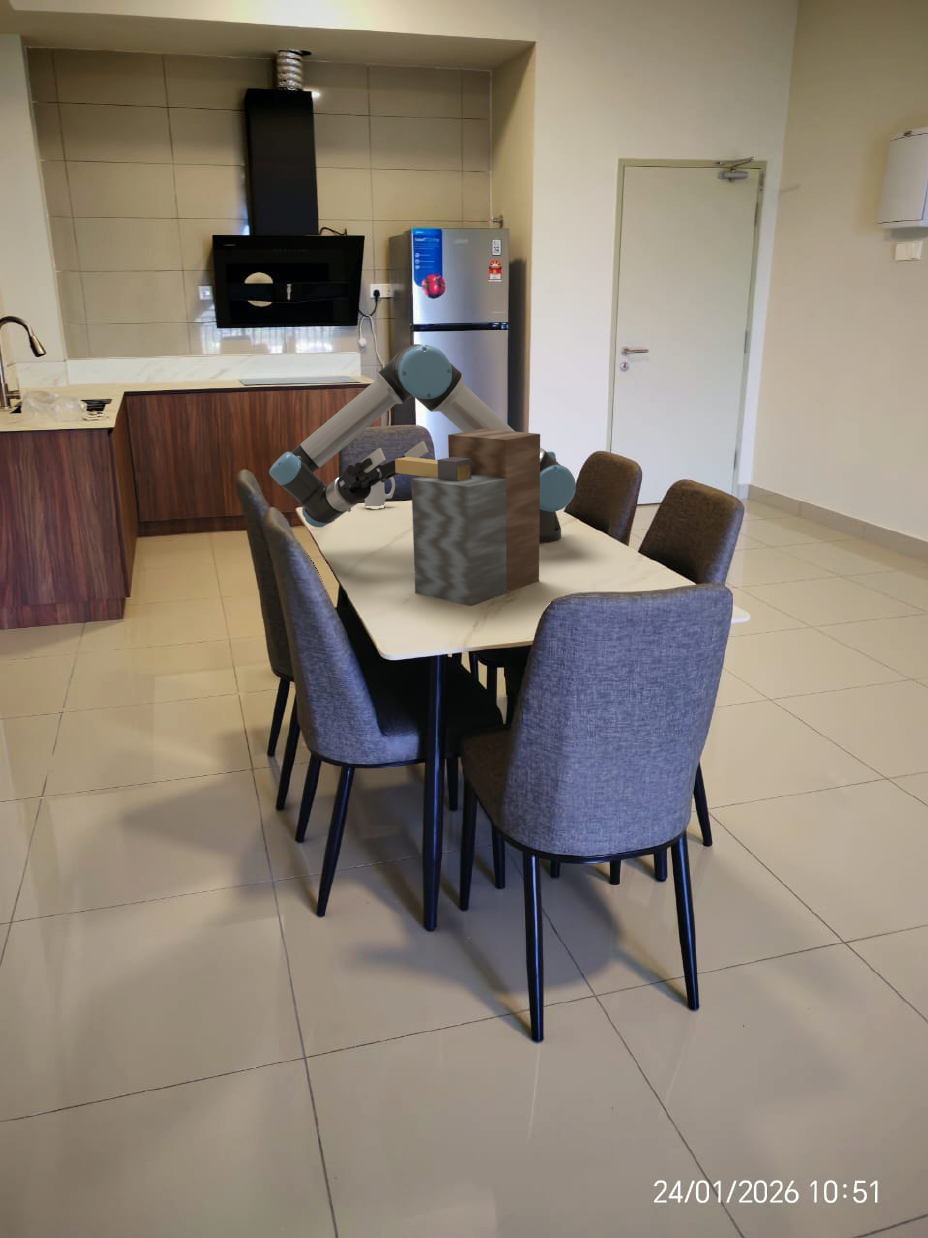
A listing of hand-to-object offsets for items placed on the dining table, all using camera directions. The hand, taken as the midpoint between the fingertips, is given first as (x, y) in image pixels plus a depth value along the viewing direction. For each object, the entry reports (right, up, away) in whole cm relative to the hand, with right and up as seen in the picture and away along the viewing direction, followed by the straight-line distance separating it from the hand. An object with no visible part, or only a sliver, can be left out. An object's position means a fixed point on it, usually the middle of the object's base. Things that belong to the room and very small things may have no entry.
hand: (404, 449), depth 202 cm
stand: (+16, -30, +4) cm, 34 cm away
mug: (-13, -2, +91) cm, 92 cm away
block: (+6, -6, -3) cm, 9 cm away
